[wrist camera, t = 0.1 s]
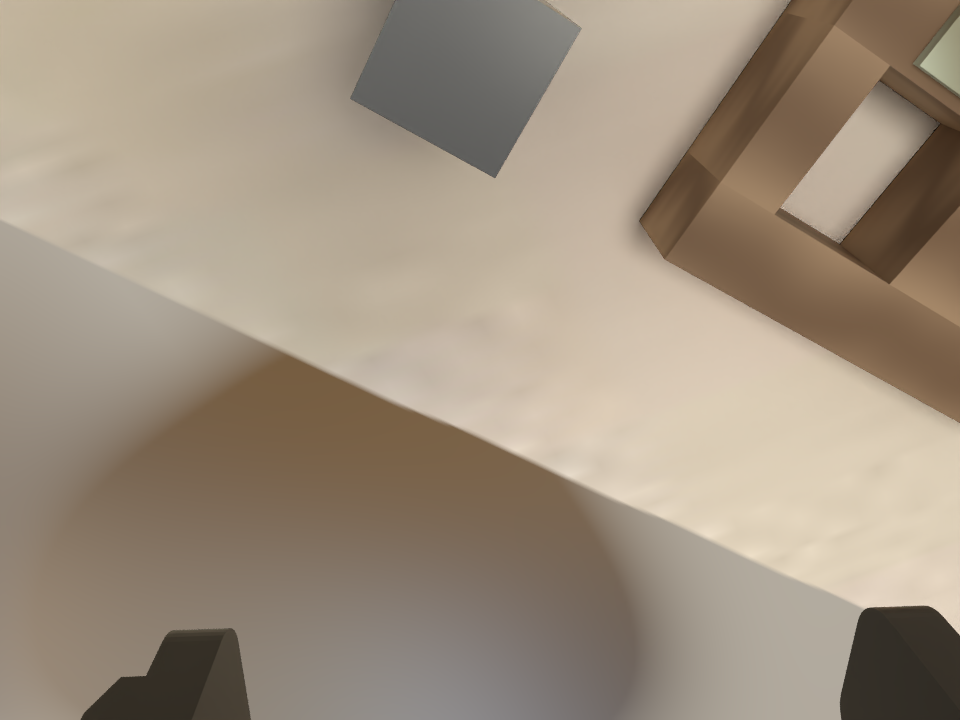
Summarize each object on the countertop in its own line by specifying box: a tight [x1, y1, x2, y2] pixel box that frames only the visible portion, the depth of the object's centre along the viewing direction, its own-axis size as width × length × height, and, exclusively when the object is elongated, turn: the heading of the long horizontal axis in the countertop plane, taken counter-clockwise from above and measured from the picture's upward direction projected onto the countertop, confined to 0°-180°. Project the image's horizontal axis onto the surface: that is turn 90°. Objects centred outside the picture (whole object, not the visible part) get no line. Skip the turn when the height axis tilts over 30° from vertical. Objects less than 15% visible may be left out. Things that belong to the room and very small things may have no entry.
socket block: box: [640, 0, 960, 423], centre depth 29 cm, size 12×20×4 cm, turn 61°
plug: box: [350, 0, 582, 178], centre depth 22 cm, size 4×4×10 cm
